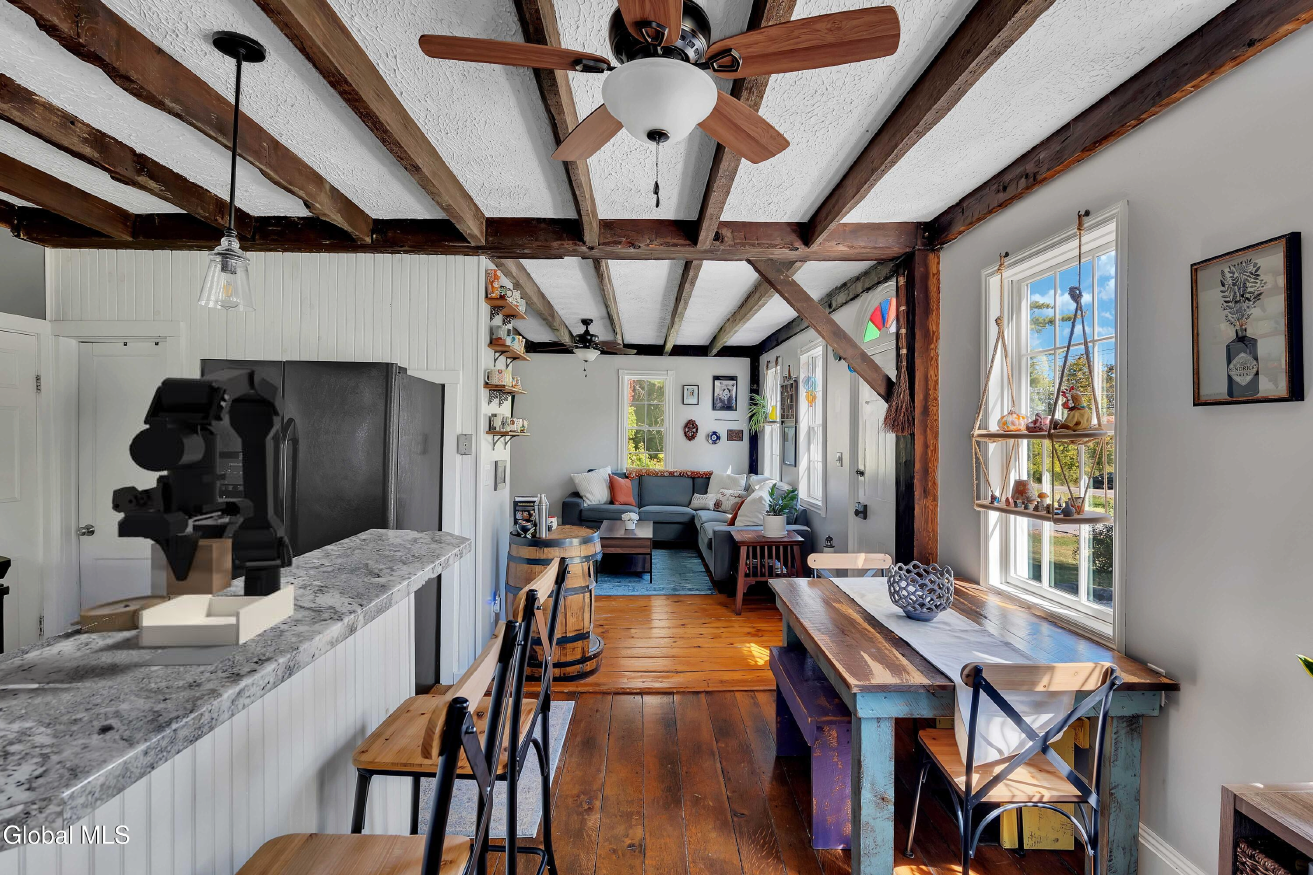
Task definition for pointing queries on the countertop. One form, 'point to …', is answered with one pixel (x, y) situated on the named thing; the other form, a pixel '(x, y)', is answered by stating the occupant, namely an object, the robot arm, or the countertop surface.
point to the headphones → (119, 613)
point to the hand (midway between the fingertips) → (192, 576)
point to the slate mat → (190, 655)
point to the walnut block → (194, 570)
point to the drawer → (213, 619)
